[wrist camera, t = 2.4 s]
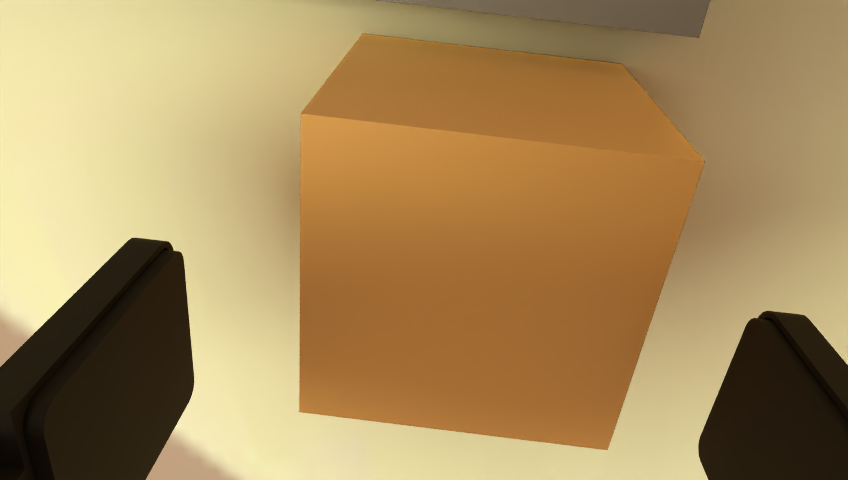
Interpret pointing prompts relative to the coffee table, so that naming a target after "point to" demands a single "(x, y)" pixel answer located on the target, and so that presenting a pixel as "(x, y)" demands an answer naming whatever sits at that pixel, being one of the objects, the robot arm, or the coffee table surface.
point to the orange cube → (483, 238)
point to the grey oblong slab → (594, 12)
